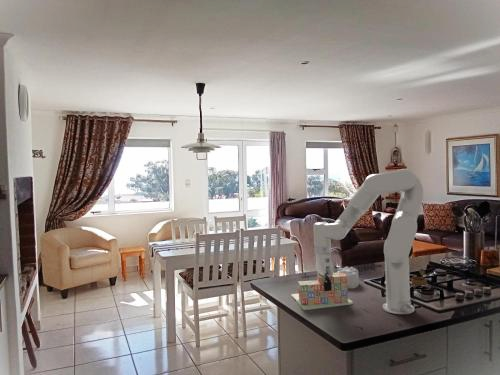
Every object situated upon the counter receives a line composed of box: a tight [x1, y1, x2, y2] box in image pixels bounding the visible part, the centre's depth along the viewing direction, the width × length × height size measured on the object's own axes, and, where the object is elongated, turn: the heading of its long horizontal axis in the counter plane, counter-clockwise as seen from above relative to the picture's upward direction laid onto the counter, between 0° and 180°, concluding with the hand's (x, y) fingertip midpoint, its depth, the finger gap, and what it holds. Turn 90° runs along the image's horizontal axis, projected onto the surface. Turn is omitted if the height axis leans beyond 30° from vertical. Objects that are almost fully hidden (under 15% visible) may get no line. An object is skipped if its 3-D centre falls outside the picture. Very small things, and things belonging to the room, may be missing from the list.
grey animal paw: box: [336, 266, 360, 289], centre depth 199 cm, size 10×13×9 cm
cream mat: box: [290, 292, 299, 303], centre depth 182 cm, size 9×23×1 cm, turn 101°
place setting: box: [410, 268, 428, 287], centre depth 190 cm, size 18×20×6 cm
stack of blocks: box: [297, 272, 349, 305], centre depth 172 cm, size 21×6×12 cm, turn 92°
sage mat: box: [297, 298, 354, 311], centre depth 172 cm, size 9×23×1 cm, turn 101°
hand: (324, 287), depth 172 cm, fingers open, 7 cm apart
